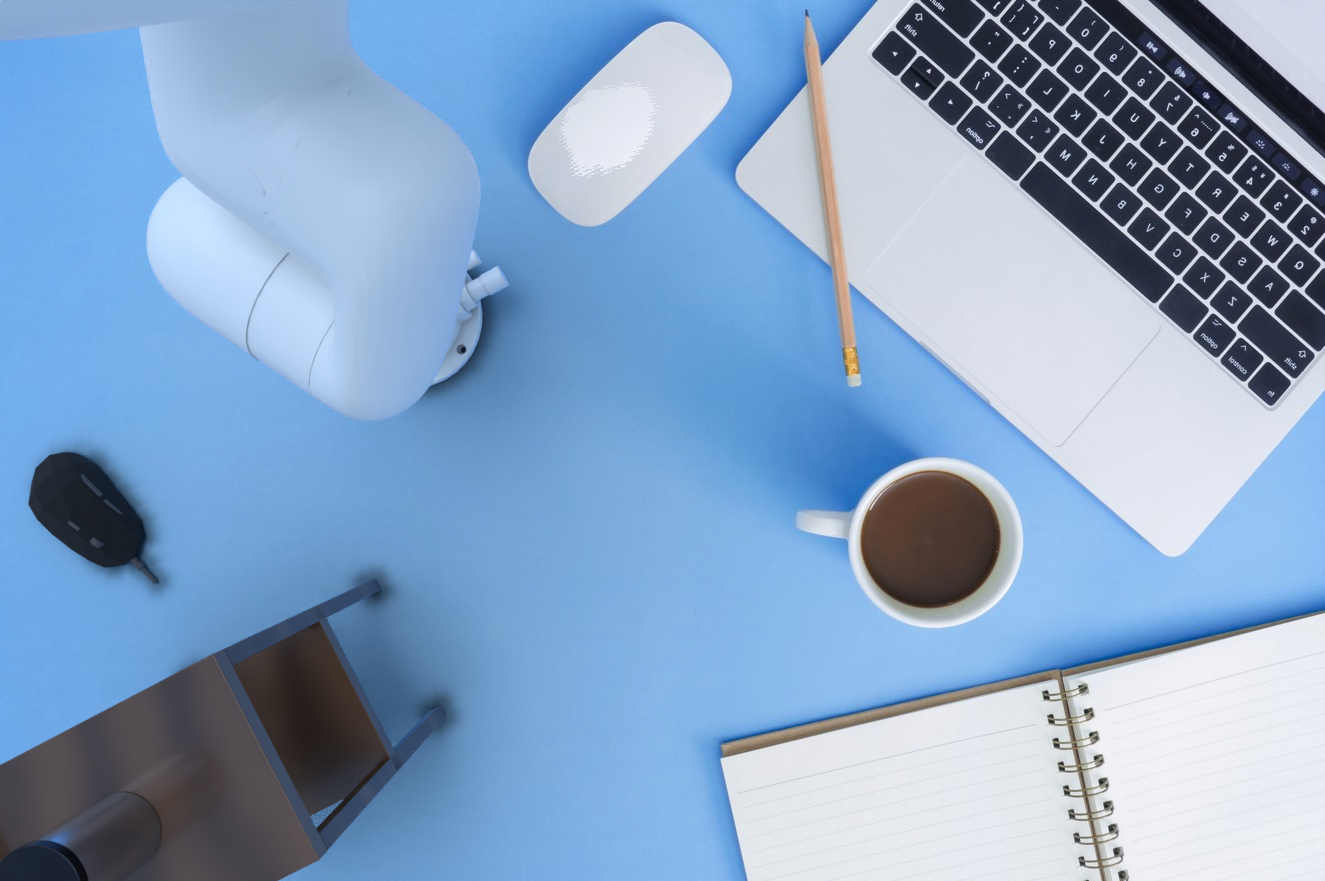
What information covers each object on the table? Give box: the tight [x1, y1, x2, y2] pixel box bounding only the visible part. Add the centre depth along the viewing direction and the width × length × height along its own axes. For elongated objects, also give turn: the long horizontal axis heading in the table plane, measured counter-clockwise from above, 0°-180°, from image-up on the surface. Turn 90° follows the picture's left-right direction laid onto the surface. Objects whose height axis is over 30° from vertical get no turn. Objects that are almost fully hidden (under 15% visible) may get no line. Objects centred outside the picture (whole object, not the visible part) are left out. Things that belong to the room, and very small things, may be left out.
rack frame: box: [223, 578, 447, 851], centre depth 67 cm, size 20×14×25 cm
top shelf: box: [0, 648, 328, 881], centre depth 53 cm, size 20×14×3 cm
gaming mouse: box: [27, 451, 158, 585], centre depth 78 cm, size 6×15×4 cm, turn 42°
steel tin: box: [0, 792, 161, 881], centre depth 50 cm, size 5×5×7 cm
